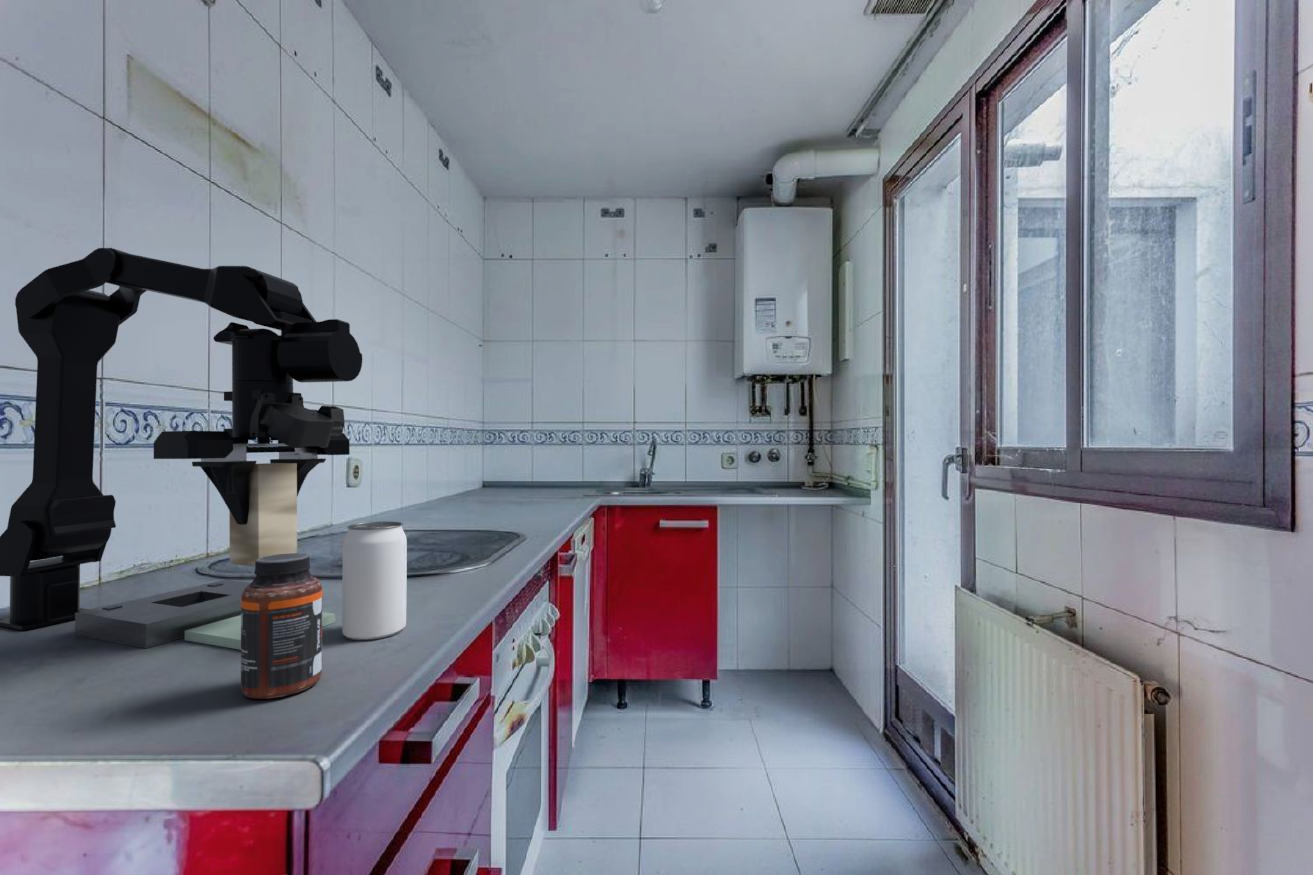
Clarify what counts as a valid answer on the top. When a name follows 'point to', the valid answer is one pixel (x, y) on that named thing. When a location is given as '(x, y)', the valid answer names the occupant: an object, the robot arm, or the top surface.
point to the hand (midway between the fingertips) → (263, 521)
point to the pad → (230, 632)
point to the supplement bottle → (281, 628)
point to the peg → (267, 515)
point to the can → (374, 580)
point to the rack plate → (161, 614)
